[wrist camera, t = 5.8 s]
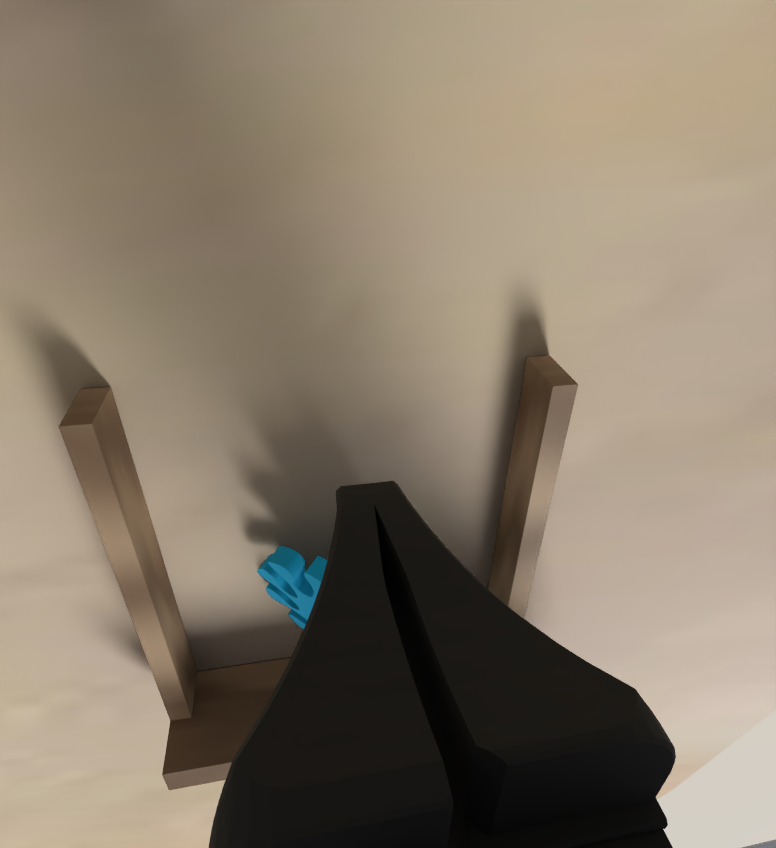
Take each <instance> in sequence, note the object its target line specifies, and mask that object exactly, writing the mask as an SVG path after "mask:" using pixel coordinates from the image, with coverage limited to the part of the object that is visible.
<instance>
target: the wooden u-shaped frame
mask: <svg viewBox="0 0 776 848" xmlns="http://www.w3.org/2000/svg"><path fill="white" fill-rule="evenodd" d="M577 387H578V384H577V383H576V382H575V381H574V380H573V379H572V378H571V377H570V376H569V375H568V374H567V373H566V372H565V371H564V370H563V369H562V368H561V367H560V366H559V365H558V364H557V363H556V362H555V360H554V359H553V358H552V357H551V356H536V357H527V358H526V364H525V370H524V376H523V382H522V388H521V394H520V400H519V406H518V412H517V418H516V424H515V430H514V436H513V442H512V448H511V454H510V460H509V466H508V472H507V478H506V484H505V490H504V495H503V501H502V507H501V513H500V519H499V525H498V531H497V537H496V543H495V549H494V555H493V561H492V567H491V573H490V579H489V585H488V590H490V591H491V592H492V593H493V594H494V595H495V596H496V597H497V598H499V599H500V600H501V601H502V602H503V603H505V604H506V605H507V606H508V607H510V608H511V609H512V610H513V611H514V612H516V613H517V614H518V615H519V616H521V617H522V618H523V619H524V616H525V611H526V607H527V603H528V598H529V594H530V590H531V585H532V581H533V577H534V572H535V568H536V564H537V559H538V555H539V551H540V546H541V542H542V538H543V534H544V529H545V525H546V521H547V516H548V512H549V508H550V503H551V499H552V495H553V490H554V486H555V482H556V477H557V473H558V469H559V464H560V460H561V456H562V452H563V447H564V443H565V439H566V434H567V430H568V426H569V421H570V417H571V413H572V408H573V404H574V400H575V395H576V391H577ZM59 429H60V432H61V434H62V437H63V439H64V442H65V445H66V447H67V450H68V453H69V455H70V458H71V460H72V463H73V466H74V468H75V471H76V474H77V476H78V479H79V482H80V484H81V487H82V489H83V492H84V495H85V497H86V500H87V503H88V505H89V508H90V510H91V513H92V516H93V518H94V521H95V524H96V526H97V529H98V531H99V534H100V537H101V539H102V542H103V545H104V547H105V550H106V552H107V555H108V558H109V560H110V563H111V566H112V568H113V571H114V574H115V576H116V579H117V581H118V584H119V587H120V589H121V592H122V595H123V597H124V600H125V602H126V605H127V608H128V610H129V613H130V616H131V618H132V621H133V623H134V626H135V629H136V631H137V634H138V637H139V639H140V642H141V645H142V647H143V650H144V652H145V655H146V658H147V660H148V663H149V666H150V668H151V671H152V673H153V676H154V679H155V681H156V684H157V687H158V689H159V692H160V694H161V697H162V700H163V702H164V705H165V708H166V710H167V713H168V715H169V718H170V728H169V734H168V741H167V747H166V754H165V761H164V767H163V774H162V775H163V778H164V780H165V782H166V784H167V787H168V789H169V790H173V789H178V788H184V787H189V786H194V785H200V784H205V783H211V782H216V781H221V780H226V778H227V775H228V772H229V769H230V766H231V763H232V760H233V758H234V756H235V755H236V753H237V752H238V750H239V748H240V747H241V745H242V744H243V742H244V740H245V739H246V737H247V736H248V734H249V732H250V731H251V729H252V728H253V726H254V724H255V723H256V721H257V720H258V718H259V716H260V715H261V713H262V711H263V709H264V708H265V706H266V704H267V702H268V701H269V699H270V697H271V695H272V693H273V691H274V689H275V687H276V686H277V684H278V682H279V680H280V678H281V676H282V674H283V673H284V671H285V669H286V667H287V665H288V663H289V661H290V659H291V657H290V658H284V659H277V660H271V661H264V662H258V663H251V664H245V665H238V666H232V667H225V668H219V669H212V670H206V671H199V672H197V670H196V667H195V663H194V660H193V657H192V653H191V650H190V647H189V644H188V640H187V637H186V634H185V630H184V627H183V624H182V620H181V617H180V614H179V611H178V607H177V604H176V601H175V597H174V594H173V591H172V587H171V584H170V581H169V578H168V574H167V571H166V568H165V564H164V561H163V558H162V555H161V551H160V548H159V545H158V541H157V538H156V535H155V531H154V528H153V525H152V522H151V518H150V515H149V512H148V508H147V505H146V502H145V499H144V495H143V492H142V489H141V485H140V482H139V479H138V475H137V472H136V469H135V466H134V462H133V459H132V456H131V452H130V449H129V446H128V442H127V439H126V436H125V433H124V429H123V426H122V423H121V419H120V416H119V413H118V410H117V406H116V403H115V400H114V396H113V393H112V390H111V387H103V388H89V389H81V390H80V392H79V393H78V395H77V397H76V398H75V400H74V402H73V403H72V405H71V407H70V408H69V410H68V412H67V413H66V415H65V417H64V418H63V420H62V422H61V423H60V425H59Z"/></svg>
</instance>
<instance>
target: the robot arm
mask: <svg viewBox="0 0 776 848" xmlns="http://www.w3.org/2000/svg"><path fill="white" fill-rule="evenodd" d="M336 502H337V514H336V522H335V529H334V534H333V539H332V544H331V548H330V553H329V557H328V561H327V564H326V568H325V571H324V574H323V578H322V581H321V585H320V588H319V591H318V594H317V596H316V599H315V602H314V605H313V608H312V610H311V613H310V615H309V618H308V620H307V623H306V625H305V628H304V630H303V632H302V634H301V637H300V639H299V641H298V643H297V646H296V648H295V650H294V652H293V654H292V657H291V659H290V661H289V663H288V665H287V667H286V669H285V671H284V673H283V674H282V676H281V678H280V680H279V682H278V684H277V686H276V687H275V689H274V691H273V693H272V695H271V697H270V699H269V701H268V702H267V704H266V706H265V708H264V709H263V711H262V713H261V715H260V716H259V718H258V720H257V721H256V723H255V724H254V726H253V728H252V729H251V731H250V732H249V734H248V736H247V737H246V739H245V740H244V742H243V744H242V745H241V747H240V748H239V750H238V752H237V753H236V755H235V756H234V758H233V760H232V763H231V766H230V769H229V772H228V775H227V778H226V781H225V784H224V787H223V790H222V793H221V796H220V799H219V803H218V806H217V810H216V814H215V817H214V821H213V826H212V831H211V837H210V843H209V848H672V845H671V844H670V842H669V840H668V838H667V836H666V834H665V832H664V830H663V829H665V828H666V827H667V819H666V817H665V815H664V813H663V811H662V809H661V807H660V805H659V803H658V802H657V800H656V798H655V797H656V795H657V794H658V792H659V791H660V789H661V787H662V786H663V784H664V782H665V781H666V779H667V777H668V776H669V774H670V772H671V770H672V767H673V765H674V762H675V758H676V755H675V749H674V746H673V744H672V743H671V741H670V739H669V738H668V736H667V734H666V733H665V731H664V729H663V728H662V726H661V724H660V723H659V721H658V720H657V718H656V717H655V715H654V714H653V712H652V711H651V710H650V708H649V707H648V706H647V704H646V703H645V702H644V700H643V699H642V698H641V696H640V695H639V693H638V692H637V691H636V689H634V688H633V687H631V686H629V685H627V684H625V683H624V682H622V681H620V680H618V679H617V678H615V677H613V676H611V675H609V674H608V673H606V672H604V671H602V670H601V669H599V668H597V667H595V666H593V665H592V664H590V663H588V662H586V661H585V660H583V659H581V658H580V657H578V656H577V655H575V654H574V653H572V652H570V651H569V650H567V649H566V648H564V647H563V646H561V645H560V644H558V643H556V642H555V641H554V640H552V639H551V638H550V637H548V636H547V635H545V634H544V633H543V632H541V631H540V630H539V629H537V628H536V627H534V626H533V625H532V624H530V623H529V622H528V621H526V620H525V619H523V618H522V617H521V616H519V615H518V614H517V613H516V612H514V611H513V610H512V609H511V608H510V607H508V606H507V605H506V604H505V603H503V602H502V601H501V600H500V599H499V598H497V597H496V596H495V595H494V594H493V593H492V592H491V591H490V590H488V589H487V588H486V587H485V586H484V585H483V584H482V583H481V582H480V581H479V580H477V579H476V578H475V577H474V576H473V575H472V574H471V573H470V572H469V571H468V570H467V569H466V568H465V567H464V566H463V565H462V564H461V563H460V562H459V561H458V560H457V559H456V557H455V556H454V555H453V554H452V553H451V552H450V551H449V550H448V549H447V548H446V547H445V546H444V544H443V543H442V542H441V541H440V540H439V539H438V537H437V536H436V535H435V534H434V533H433V532H432V530H431V529H430V528H429V527H428V526H427V524H426V523H425V522H424V521H423V519H422V518H421V517H420V515H419V514H418V513H417V512H416V510H415V509H414V508H413V506H412V505H411V503H410V502H409V501H408V499H407V498H406V496H405V495H404V493H403V492H402V490H401V489H400V487H399V486H398V484H396V483H395V482H394V481H388V482H379V483H369V484H360V485H350V486H341V487H340V488H339V489H338V490H336ZM743 848H776V840H772V841H768V842H764V843H759V844H755V845H751V846H747V847H743Z"/></svg>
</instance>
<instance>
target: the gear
mask: <svg viewBox="0 0 776 848" xmlns="http://www.w3.org/2000/svg"><path fill="white" fill-rule="evenodd" d="M326 564H327V560H326V559H324V558H322V557H320V556H317V557H316V559H315V560H314V561H313V563H312V564H311V565H310V567H309V568H308V569H307V570H306V569H305V567H304V566H305V560H304V558H303V557H302V556H301V555H300V554H299V553H298V552H297V551H295V550H293V549H290V548H287V547H284V546H280V547H279V548H278V549H277V550H276V551H275V553H274V554H271V555H269V556H268V558H267V559H266V560H265V561H264V563H263V564H262V565H261V566H260V568H259V569H258V570H257V572H258V573H259V574H260V575H261V576H262V577H263V578H264V579H266V580H267V581H269V582H270V583H269V585H268V586H267V587H266V590H267V592H268V594H269V595H270V596H271V597H272V598H273V599H275V600H276V601H278V602H279V603H282V604H284V605H286V606H287V607H289V608H291V609H292V610H291V611H290V613H289V614H288V615H289V616H290V617H291V619H292V620H293V621H294V622H295V623H296V624H297V625H298V626H299V627H301V628H302V629H304V628H305V625H306V623H307V620H308V618H309V615H310V613H311V610H312V608H313V605H314V602H315V599H316V596H317V594H318V591H319V588H320V585H321V581H322V578H323V574H324V571H325V568H326Z"/></svg>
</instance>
